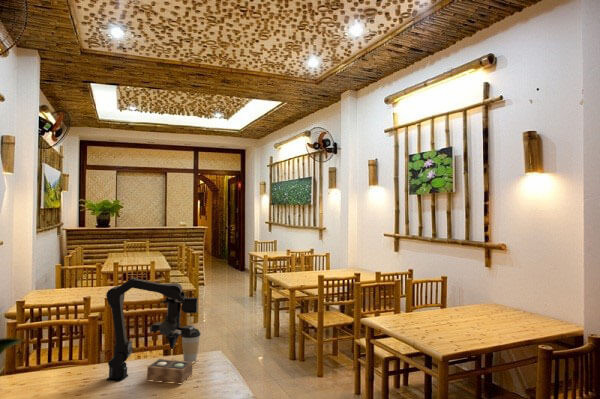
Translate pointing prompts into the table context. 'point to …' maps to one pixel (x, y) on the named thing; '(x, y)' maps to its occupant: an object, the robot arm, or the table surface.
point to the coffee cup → (190, 346)
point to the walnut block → (169, 371)
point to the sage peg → (179, 365)
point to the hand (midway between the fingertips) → (172, 348)
